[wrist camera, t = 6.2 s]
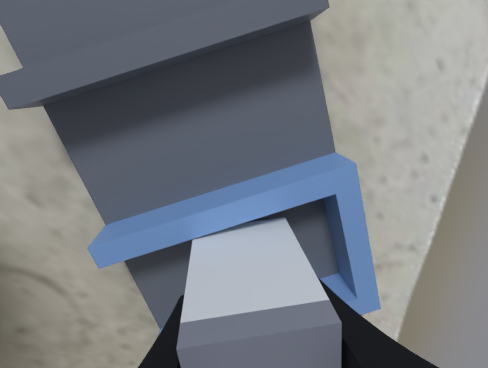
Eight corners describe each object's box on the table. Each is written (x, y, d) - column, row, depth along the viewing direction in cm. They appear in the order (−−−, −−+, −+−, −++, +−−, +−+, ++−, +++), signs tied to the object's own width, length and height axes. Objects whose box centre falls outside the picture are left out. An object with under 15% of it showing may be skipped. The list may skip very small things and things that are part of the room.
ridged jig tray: (170, 336, 16) (162, 381, 14) (-71, -132, 9) (-173, -211, 7) (356, 278, 16) (381, 312, 14) (253, -237, 9) (267, -356, 7)
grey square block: (207, 303, 14) (202, 456, 8) (194, 229, 12) (176, 349, 7) (289, 291, 14) (340, 431, 8) (284, 217, 13) (341, 322, 7)
